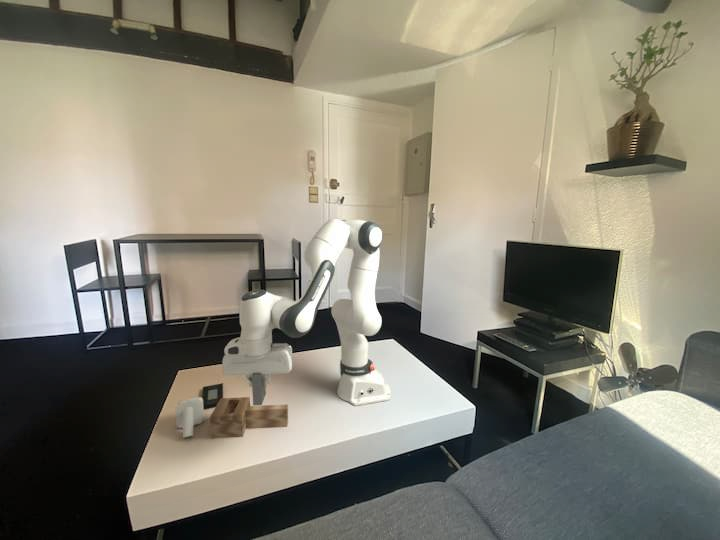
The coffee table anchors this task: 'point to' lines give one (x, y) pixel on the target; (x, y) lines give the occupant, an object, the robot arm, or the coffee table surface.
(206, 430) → the coffee table surface
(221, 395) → the vhs tape
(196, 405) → the wall hook
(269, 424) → the slotted wooden socket block
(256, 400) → the grey wood block
